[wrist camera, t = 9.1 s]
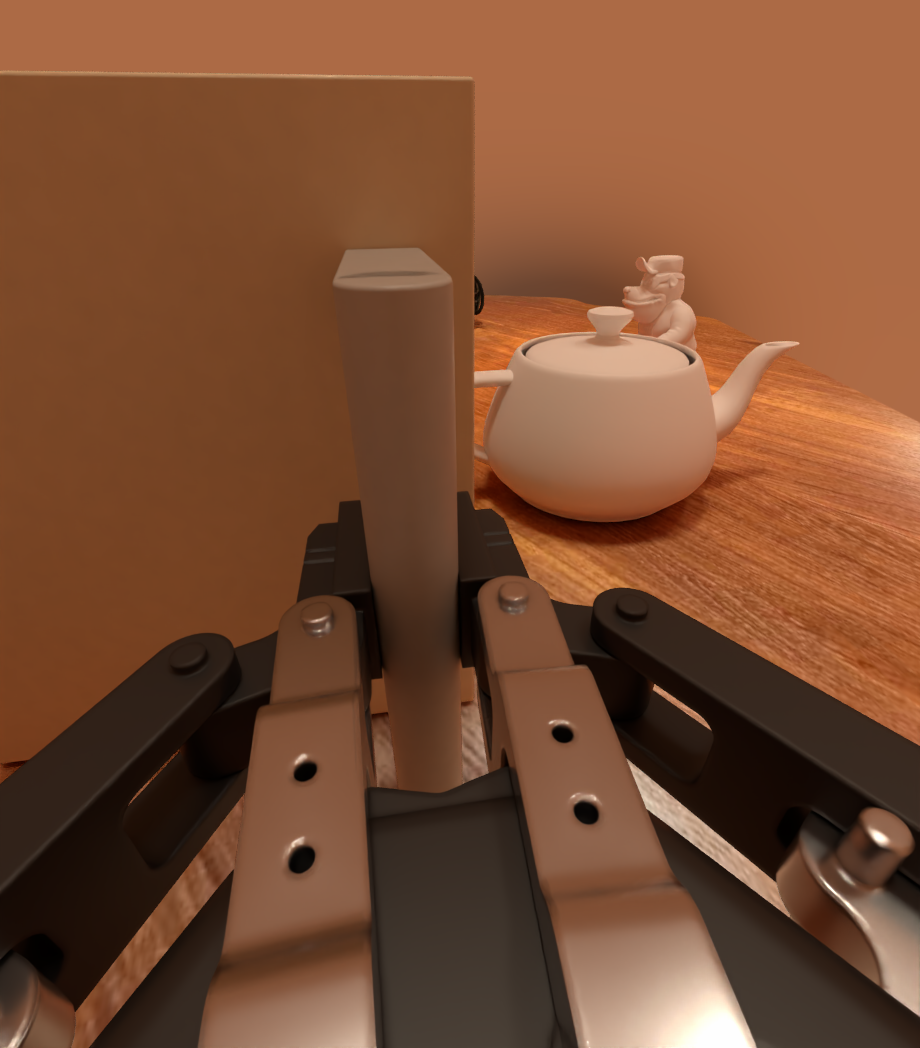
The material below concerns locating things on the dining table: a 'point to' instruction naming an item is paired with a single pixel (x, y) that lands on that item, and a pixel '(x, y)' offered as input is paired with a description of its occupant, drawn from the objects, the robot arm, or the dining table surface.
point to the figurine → (662, 301)
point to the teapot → (610, 419)
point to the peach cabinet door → (231, 376)
